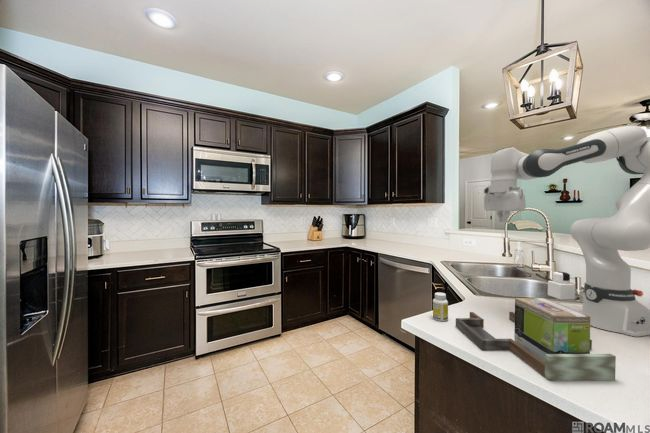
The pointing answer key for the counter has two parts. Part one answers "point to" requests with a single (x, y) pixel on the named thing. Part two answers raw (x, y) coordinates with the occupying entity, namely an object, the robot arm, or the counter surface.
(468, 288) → the counter surface
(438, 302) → the supplement bottle
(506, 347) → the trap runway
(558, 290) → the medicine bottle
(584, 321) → the tea box
